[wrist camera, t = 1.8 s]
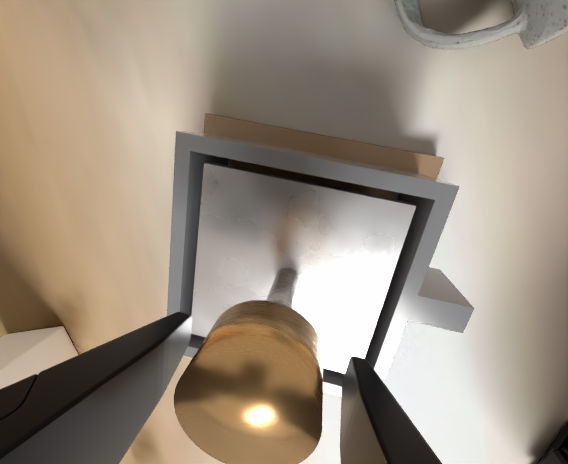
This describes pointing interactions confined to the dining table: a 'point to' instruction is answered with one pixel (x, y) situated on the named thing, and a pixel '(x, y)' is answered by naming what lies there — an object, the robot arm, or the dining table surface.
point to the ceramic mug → (527, 23)
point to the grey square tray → (336, 173)
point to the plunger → (280, 307)
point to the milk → (32, 353)
